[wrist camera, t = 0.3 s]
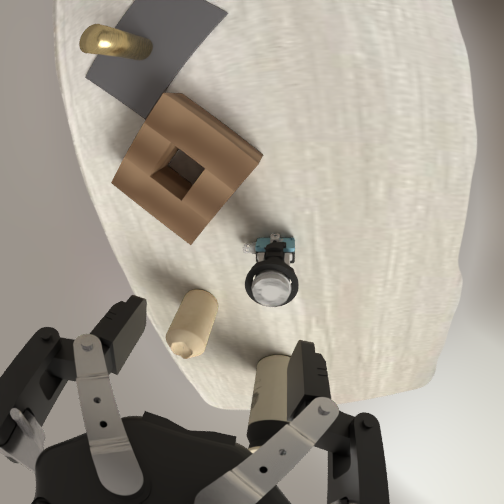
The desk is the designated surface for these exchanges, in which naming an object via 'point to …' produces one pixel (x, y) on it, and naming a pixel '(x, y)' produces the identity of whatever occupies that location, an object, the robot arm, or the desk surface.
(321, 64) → the desk surface
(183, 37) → the mat
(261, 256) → the push button
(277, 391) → the travel mug
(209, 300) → the candle
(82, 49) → the pin
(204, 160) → the socket block
